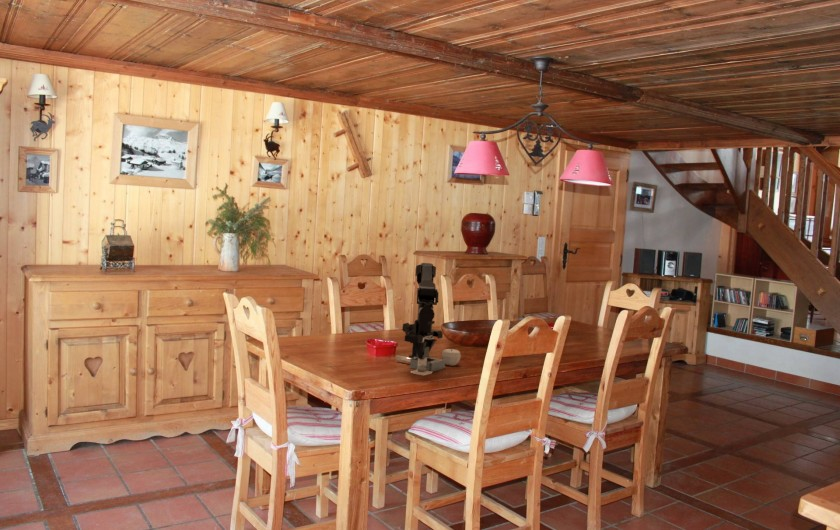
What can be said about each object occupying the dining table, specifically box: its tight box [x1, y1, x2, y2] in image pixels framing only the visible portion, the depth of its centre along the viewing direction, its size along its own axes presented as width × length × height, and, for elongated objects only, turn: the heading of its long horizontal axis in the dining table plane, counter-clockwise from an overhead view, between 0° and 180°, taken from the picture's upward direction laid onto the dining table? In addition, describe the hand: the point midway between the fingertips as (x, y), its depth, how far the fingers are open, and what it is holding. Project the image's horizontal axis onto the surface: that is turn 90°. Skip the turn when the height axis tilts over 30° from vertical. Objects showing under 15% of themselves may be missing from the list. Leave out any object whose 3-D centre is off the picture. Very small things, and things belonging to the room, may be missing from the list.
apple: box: [441, 348, 462, 367], centre depth 295 cm, size 8×8×7 cm
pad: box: [410, 369, 433, 376], centre depth 277 cm, size 6×6×1 cm
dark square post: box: [416, 346, 430, 372], centre depth 276 cm, size 3×3×10 cm
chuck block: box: [395, 354, 446, 373], centre depth 288 cm, size 10×20×4 cm, turn 57°
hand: (422, 357), depth 276 cm, fingers closed on dark square post, 3 cm apart
